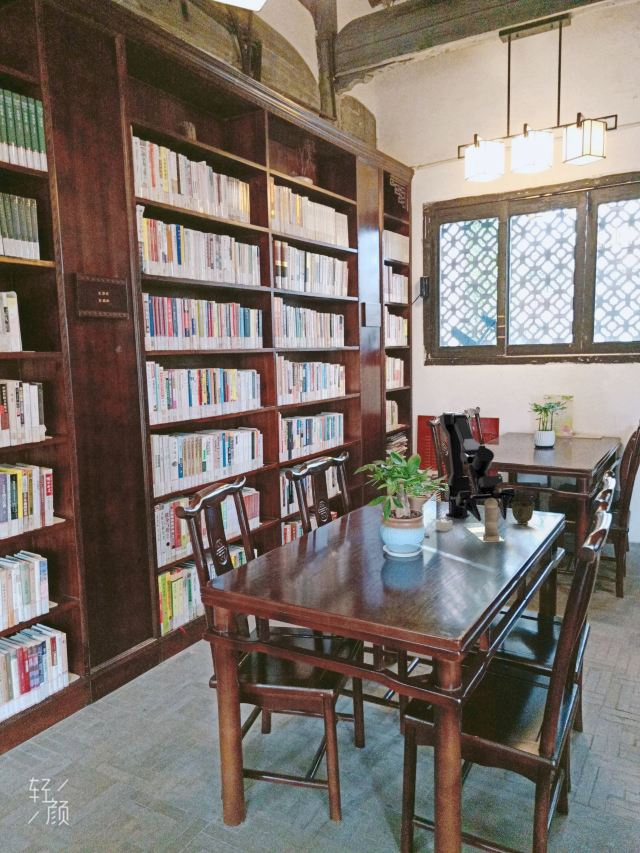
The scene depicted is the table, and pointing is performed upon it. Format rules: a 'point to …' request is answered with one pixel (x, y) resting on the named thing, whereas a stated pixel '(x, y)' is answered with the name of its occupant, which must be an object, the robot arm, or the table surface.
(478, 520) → the robot arm
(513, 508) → the cup
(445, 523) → the die
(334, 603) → the table surface
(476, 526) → the board
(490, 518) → the round-topped post
